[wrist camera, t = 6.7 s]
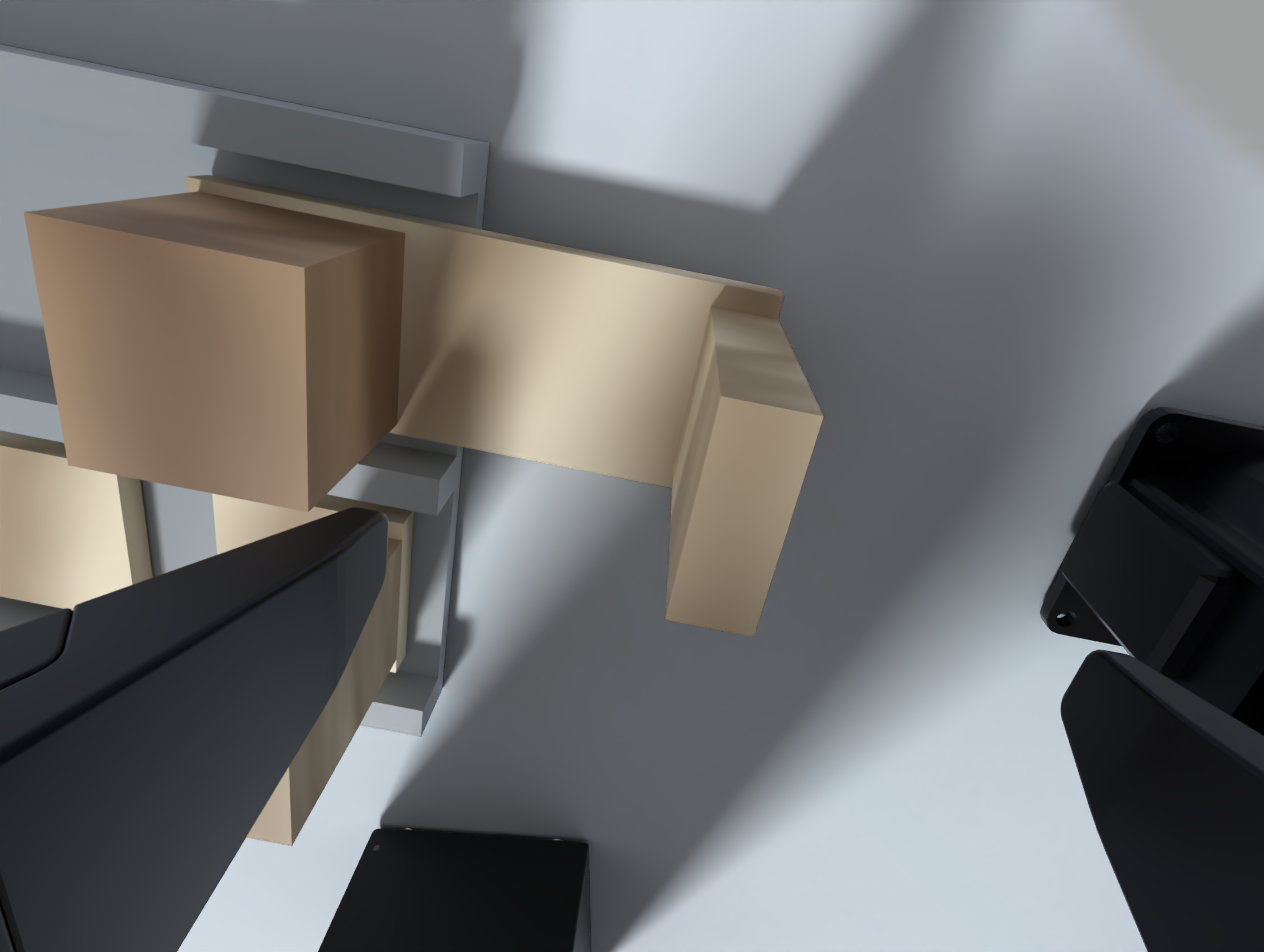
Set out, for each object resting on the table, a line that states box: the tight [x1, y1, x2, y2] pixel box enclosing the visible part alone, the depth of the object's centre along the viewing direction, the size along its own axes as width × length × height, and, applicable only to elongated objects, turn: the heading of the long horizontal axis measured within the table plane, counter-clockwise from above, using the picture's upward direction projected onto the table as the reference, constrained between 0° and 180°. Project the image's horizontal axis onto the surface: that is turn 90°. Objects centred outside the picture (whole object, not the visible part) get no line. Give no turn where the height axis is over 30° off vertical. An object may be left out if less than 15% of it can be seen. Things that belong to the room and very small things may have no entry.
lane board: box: [0, 44, 490, 737], centre depth 19 cm, size 15×16×2 cm
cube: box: [24, 191, 405, 512], centre depth 14 cm, size 4×4×4 cm
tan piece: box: [186, 175, 824, 637], centre depth 14 cm, size 13×5×7 cm, turn 80°
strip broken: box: [0, 430, 414, 846], centre depth 17 cm, size 13×5×7 cm, turn 80°
